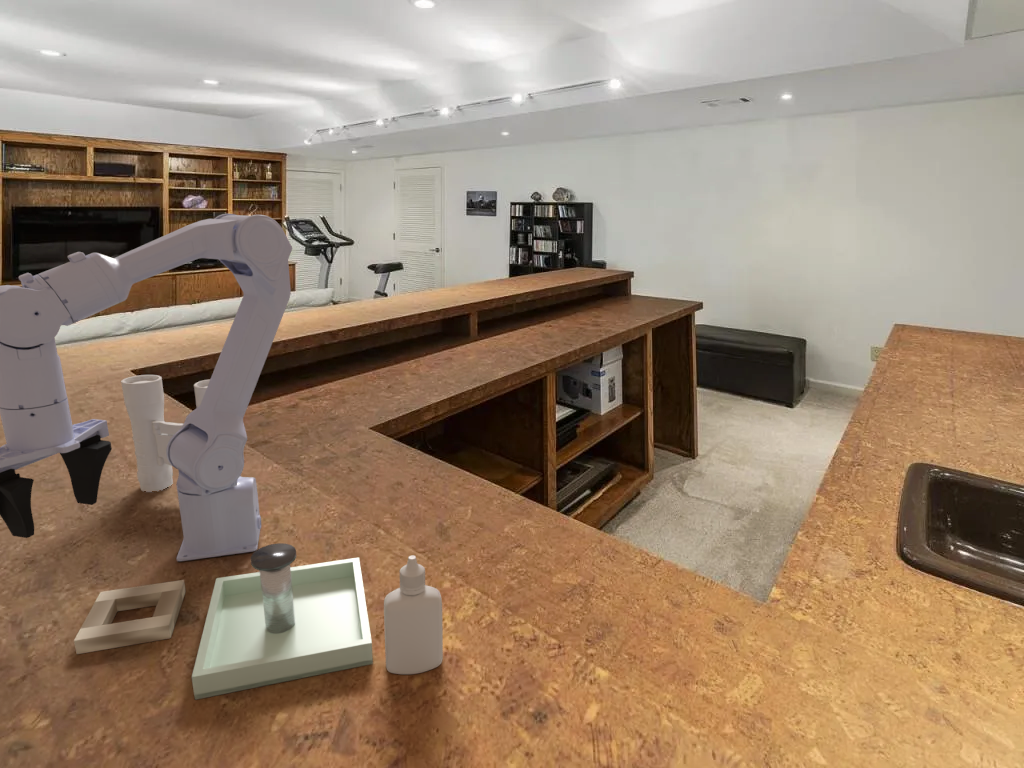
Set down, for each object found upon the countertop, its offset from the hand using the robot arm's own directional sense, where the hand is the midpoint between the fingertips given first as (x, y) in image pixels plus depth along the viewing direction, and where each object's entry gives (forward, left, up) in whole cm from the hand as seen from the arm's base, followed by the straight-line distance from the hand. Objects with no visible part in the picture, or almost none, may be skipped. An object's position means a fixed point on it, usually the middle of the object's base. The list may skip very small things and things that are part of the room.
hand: (56, 518), depth 66 cm
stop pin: (-23, +13, -9) cm, 28 cm away
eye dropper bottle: (-36, +22, -10) cm, 43 cm away
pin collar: (-8, +7, -10) cm, 14 cm away
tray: (-24, +13, -10) cm, 29 cm away
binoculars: (-8, -27, -10) cm, 30 cm away
